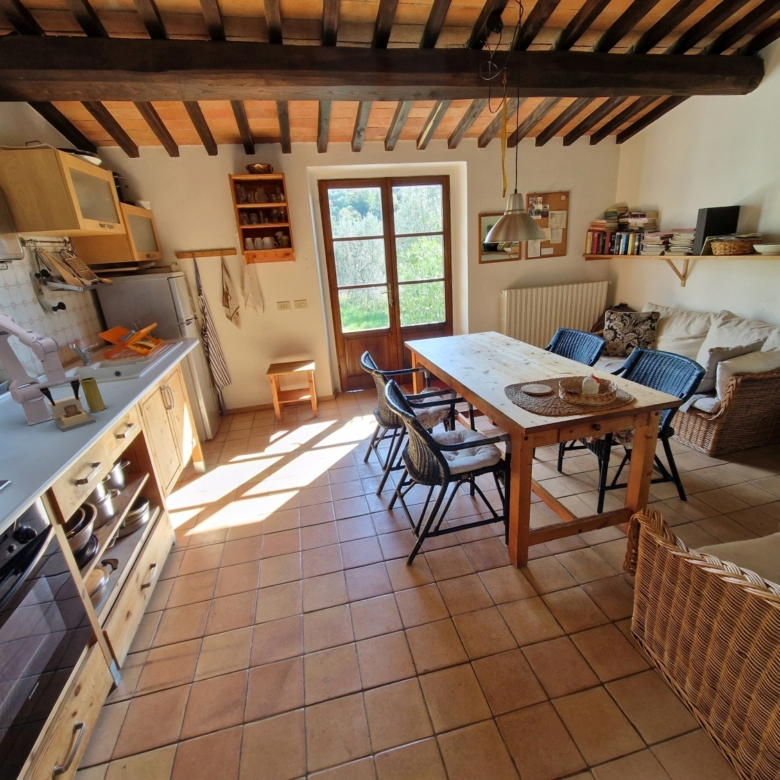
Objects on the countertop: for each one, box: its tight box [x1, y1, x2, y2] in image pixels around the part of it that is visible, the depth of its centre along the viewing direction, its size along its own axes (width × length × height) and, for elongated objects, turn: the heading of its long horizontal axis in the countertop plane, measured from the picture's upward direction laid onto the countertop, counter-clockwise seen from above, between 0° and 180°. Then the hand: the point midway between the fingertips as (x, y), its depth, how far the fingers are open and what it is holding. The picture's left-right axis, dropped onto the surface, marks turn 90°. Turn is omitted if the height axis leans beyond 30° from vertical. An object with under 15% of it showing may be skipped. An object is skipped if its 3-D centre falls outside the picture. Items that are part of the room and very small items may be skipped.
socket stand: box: [46, 393, 97, 433], centre depth 166 cm, size 16×11×9 cm
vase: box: [79, 376, 107, 413], centre depth 177 cm, size 6×6×14 cm
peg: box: [64, 404, 79, 418], centre depth 165 cm, size 4×4×6 cm
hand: (66, 402), depth 163 cm, fingers open, 7 cm apart
